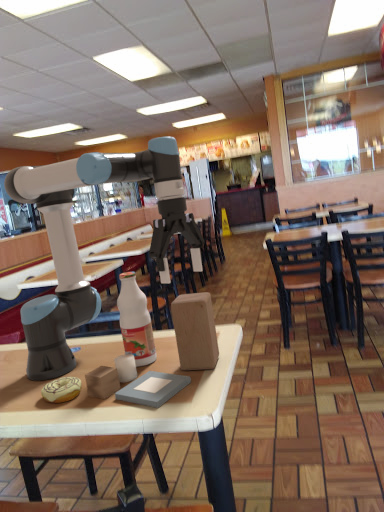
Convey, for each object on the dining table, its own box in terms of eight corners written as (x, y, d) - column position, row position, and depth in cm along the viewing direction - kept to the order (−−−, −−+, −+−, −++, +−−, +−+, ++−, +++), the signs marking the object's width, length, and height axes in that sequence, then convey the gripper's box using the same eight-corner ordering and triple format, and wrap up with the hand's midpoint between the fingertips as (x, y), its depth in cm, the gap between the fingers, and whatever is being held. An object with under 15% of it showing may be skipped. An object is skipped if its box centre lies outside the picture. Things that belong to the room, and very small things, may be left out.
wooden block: (215, 370, 116) (204, 299, 113) (180, 372, 118) (169, 303, 115) (220, 355, 125) (210, 290, 123) (187, 357, 127) (177, 294, 125)
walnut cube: (88, 396, 111) (84, 374, 111) (105, 386, 116) (101, 365, 115) (104, 399, 108) (100, 377, 107) (120, 389, 113) (116, 368, 112)
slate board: (115, 399, 107) (114, 393, 107) (150, 375, 118) (149, 370, 118) (158, 407, 99) (156, 401, 99) (191, 382, 110) (190, 376, 110)
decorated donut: (49, 410, 107) (46, 396, 106) (38, 397, 116) (36, 384, 115) (88, 394, 113) (85, 381, 112) (75, 383, 122) (72, 370, 121)
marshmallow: (113, 381, 119) (109, 360, 118) (127, 372, 123) (123, 353, 122) (128, 383, 115) (124, 362, 115) (141, 374, 120) (137, 355, 119)
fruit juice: (163, 358, 130) (148, 270, 126) (137, 369, 124) (121, 277, 120) (146, 353, 137) (132, 269, 133) (121, 363, 131) (105, 276, 127)
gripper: (147, 201, 98) (161, 289, 101) (210, 192, 117) (220, 266, 120) (126, 204, 103) (140, 288, 106) (189, 195, 122) (199, 266, 125)
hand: (182, 277), depth 113 cm, fingers open, 13 cm apart
